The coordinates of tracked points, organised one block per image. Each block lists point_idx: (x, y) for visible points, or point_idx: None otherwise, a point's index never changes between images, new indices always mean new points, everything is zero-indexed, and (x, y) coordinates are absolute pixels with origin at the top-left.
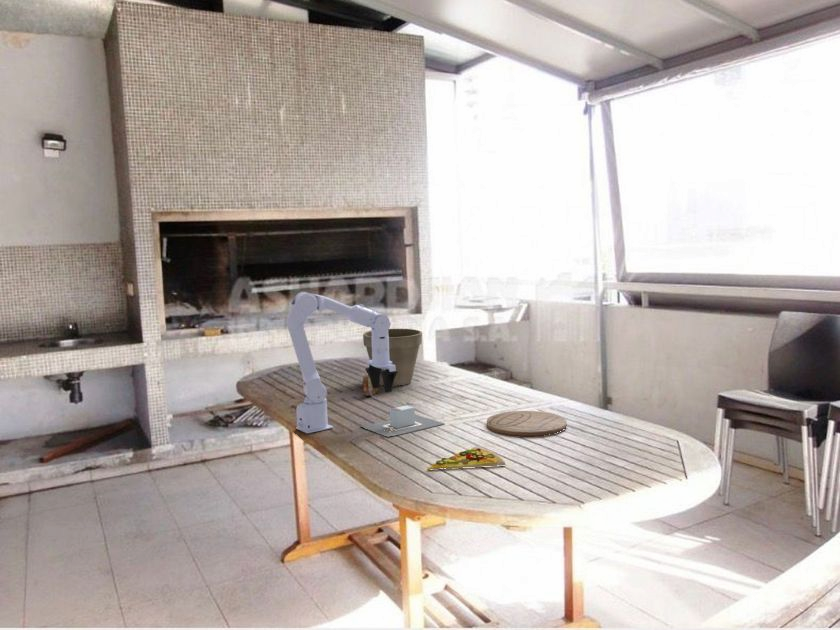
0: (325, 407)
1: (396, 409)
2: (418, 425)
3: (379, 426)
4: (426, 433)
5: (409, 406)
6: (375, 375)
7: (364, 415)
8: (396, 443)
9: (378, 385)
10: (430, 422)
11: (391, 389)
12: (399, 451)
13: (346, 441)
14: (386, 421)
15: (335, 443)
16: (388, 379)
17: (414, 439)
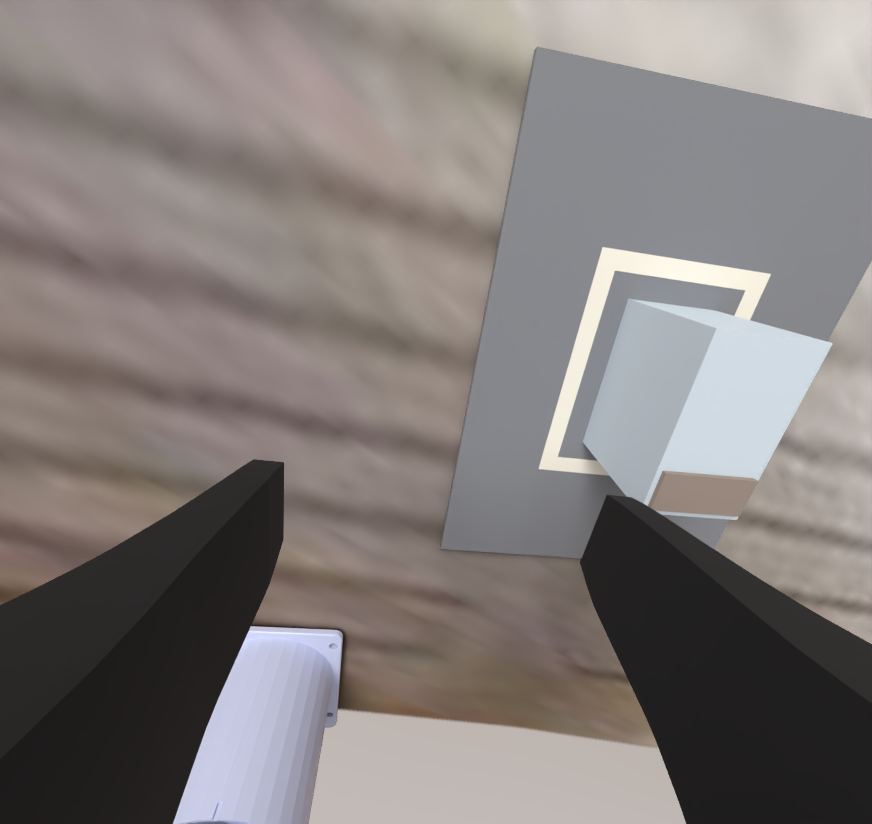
0: (298, 788)
1: (718, 501)
2: (755, 318)
3: (535, 488)
4: (867, 395)
5: (764, 344)
6: (156, 734)
7: (198, 365)
8: (781, 583)
9: (271, 491)
10: (809, 191)
11: (653, 514)
12: (843, 628)
13: (560, 677)
14: (488, 391)
15: (541, 707)
16: (766, 736)
17: (841, 503)
